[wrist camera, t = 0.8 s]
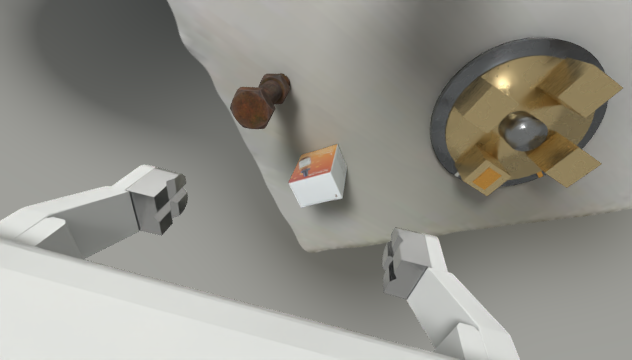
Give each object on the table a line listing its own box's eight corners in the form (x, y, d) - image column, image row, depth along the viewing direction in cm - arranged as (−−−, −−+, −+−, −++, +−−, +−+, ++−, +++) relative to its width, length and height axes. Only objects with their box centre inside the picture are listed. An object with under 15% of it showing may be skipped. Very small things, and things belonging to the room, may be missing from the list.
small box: (338, 142, 52) (331, 171, 44) (347, 167, 55) (343, 199, 46) (300, 154, 55) (287, 183, 46) (310, 177, 57) (300, 208, 49)
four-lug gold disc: (522, 24, 37) (548, 28, 32) (626, 105, 40) (665, 121, 35) (418, 139, 48) (424, 156, 42) (506, 196, 51) (522, 219, 45)
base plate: (519, -1, 37) (525, -1, 36) (641, 97, 41) (651, 101, 39) (400, 138, 50) (401, 142, 48) (501, 203, 53) (505, 208, 52)
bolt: (302, 90, 48) (278, 121, 36) (278, 103, 50) (248, 137, 38) (284, 58, 46) (252, 80, 33) (260, 73, 48) (221, 99, 35)
